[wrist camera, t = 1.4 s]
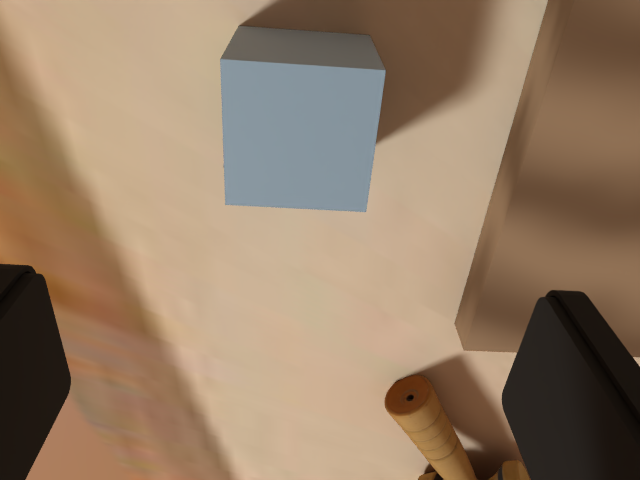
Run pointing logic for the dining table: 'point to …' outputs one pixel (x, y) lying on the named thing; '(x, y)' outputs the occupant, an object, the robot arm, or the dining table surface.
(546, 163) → the board
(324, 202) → the cube
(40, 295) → the robot arm
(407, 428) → the kendama
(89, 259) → the dining table surface
